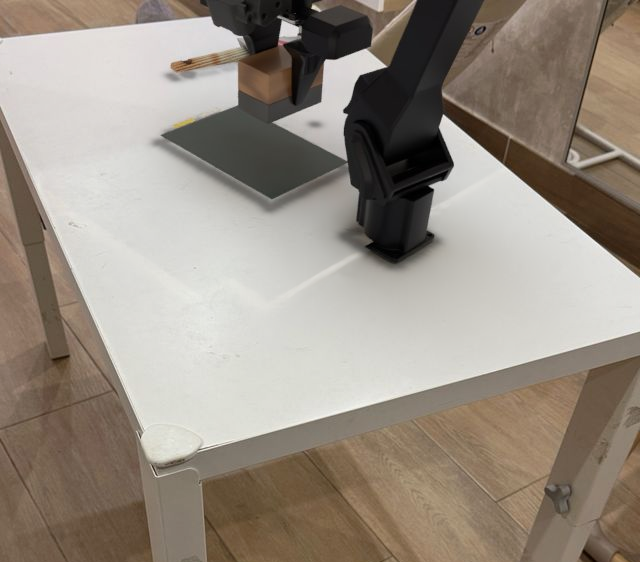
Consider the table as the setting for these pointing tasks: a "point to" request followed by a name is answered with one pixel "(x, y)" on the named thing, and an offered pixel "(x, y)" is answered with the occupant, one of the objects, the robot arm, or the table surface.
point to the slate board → (255, 151)
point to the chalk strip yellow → (183, 123)
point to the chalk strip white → (209, 112)
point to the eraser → (272, 86)
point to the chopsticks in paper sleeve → (220, 56)
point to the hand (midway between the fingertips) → (281, 96)
